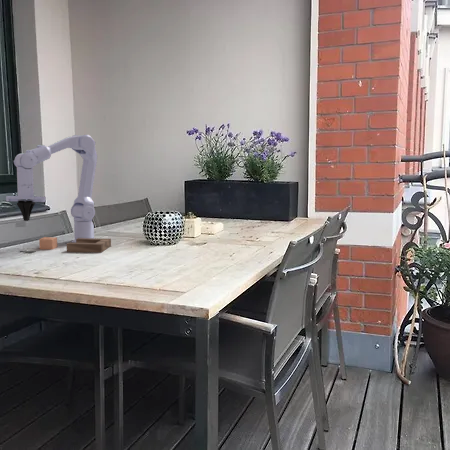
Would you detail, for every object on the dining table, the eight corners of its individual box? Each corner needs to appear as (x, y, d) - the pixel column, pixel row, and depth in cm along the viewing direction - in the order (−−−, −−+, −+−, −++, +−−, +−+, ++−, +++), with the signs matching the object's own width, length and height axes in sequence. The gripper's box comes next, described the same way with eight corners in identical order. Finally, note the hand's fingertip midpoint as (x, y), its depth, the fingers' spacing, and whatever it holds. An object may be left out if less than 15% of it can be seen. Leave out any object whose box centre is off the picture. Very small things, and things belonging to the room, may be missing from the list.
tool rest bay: (78, 245, 204) (78, 238, 204) (111, 246, 204) (110, 238, 203) (66, 251, 190) (66, 243, 190) (101, 252, 190) (101, 244, 190)
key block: (44, 247, 200) (44, 237, 200) (57, 247, 200) (57, 237, 200) (39, 249, 195) (39, 239, 195) (52, 249, 195) (52, 239, 195)
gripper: (1, 185, 191) (3, 221, 193) (40, 185, 191) (41, 222, 193) (10, 184, 198) (11, 219, 200) (47, 185, 198) (48, 220, 200)
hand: (26, 220), depth 197 cm, fingers closed
